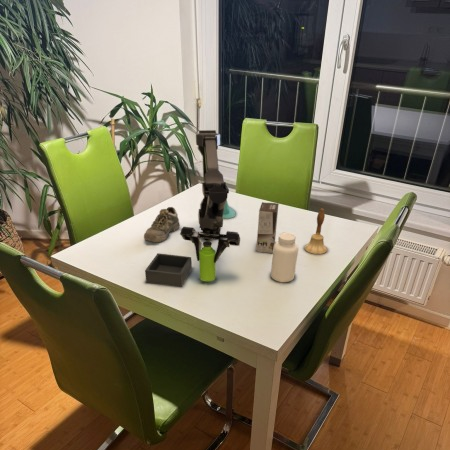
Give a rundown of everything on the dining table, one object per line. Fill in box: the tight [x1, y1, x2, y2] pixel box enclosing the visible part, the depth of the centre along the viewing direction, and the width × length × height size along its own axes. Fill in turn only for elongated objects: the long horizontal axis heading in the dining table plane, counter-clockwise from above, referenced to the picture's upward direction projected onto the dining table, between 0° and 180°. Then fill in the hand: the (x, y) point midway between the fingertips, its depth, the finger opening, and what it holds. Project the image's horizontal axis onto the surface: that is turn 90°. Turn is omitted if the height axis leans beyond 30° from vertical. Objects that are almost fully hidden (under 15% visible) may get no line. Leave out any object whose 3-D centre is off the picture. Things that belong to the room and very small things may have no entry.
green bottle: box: [198, 240, 216, 282], centre depth 132 cm, size 5×5×12 cm
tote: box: [144, 252, 193, 288], centre depth 137 cm, size 12×12×4 cm
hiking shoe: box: [143, 206, 181, 243], centre depth 162 cm, size 9×21×12 cm
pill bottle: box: [270, 232, 299, 283], centre depth 134 cm, size 8×8×15 cm
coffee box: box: [255, 201, 279, 254], centre depth 152 cm, size 9×6×16 cm
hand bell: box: [304, 207, 328, 255], centre depth 151 cm, size 8×8×16 cm
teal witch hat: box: [223, 199, 236, 220], centre depth 183 cm, size 12×20×9 cm, turn 29°
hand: (206, 261), depth 131 cm, fingers closed on green bottle, 5 cm apart
